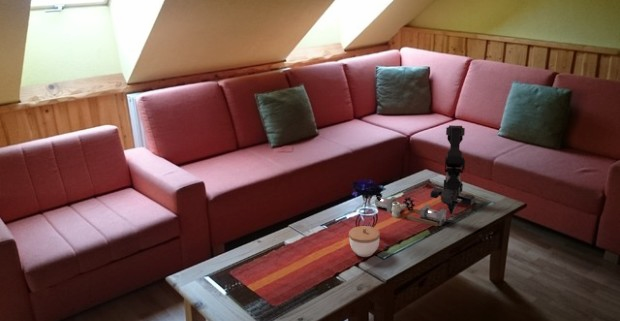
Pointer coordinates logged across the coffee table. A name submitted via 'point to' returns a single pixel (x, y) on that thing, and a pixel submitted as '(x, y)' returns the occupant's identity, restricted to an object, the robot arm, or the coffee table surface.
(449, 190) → the robot arm
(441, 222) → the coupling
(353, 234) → the lidded bowl
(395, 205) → the valve
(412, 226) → the coffee table surface
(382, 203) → the pipe stub
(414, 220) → the cradle rails
